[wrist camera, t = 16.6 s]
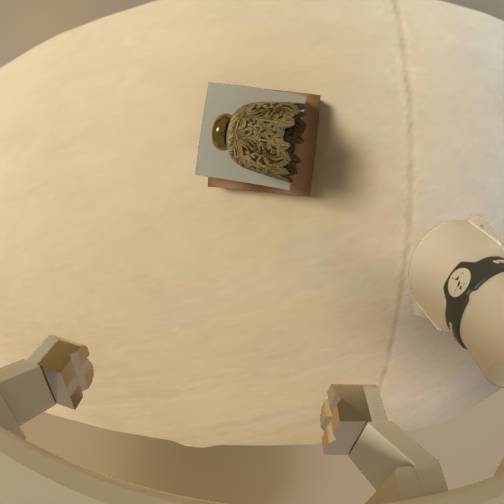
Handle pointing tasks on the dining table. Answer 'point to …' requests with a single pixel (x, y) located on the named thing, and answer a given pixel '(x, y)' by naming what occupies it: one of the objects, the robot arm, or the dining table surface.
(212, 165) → the tower top
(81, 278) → the dining table surface
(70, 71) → the dining table surface
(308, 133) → the tower base
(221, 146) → the cup
